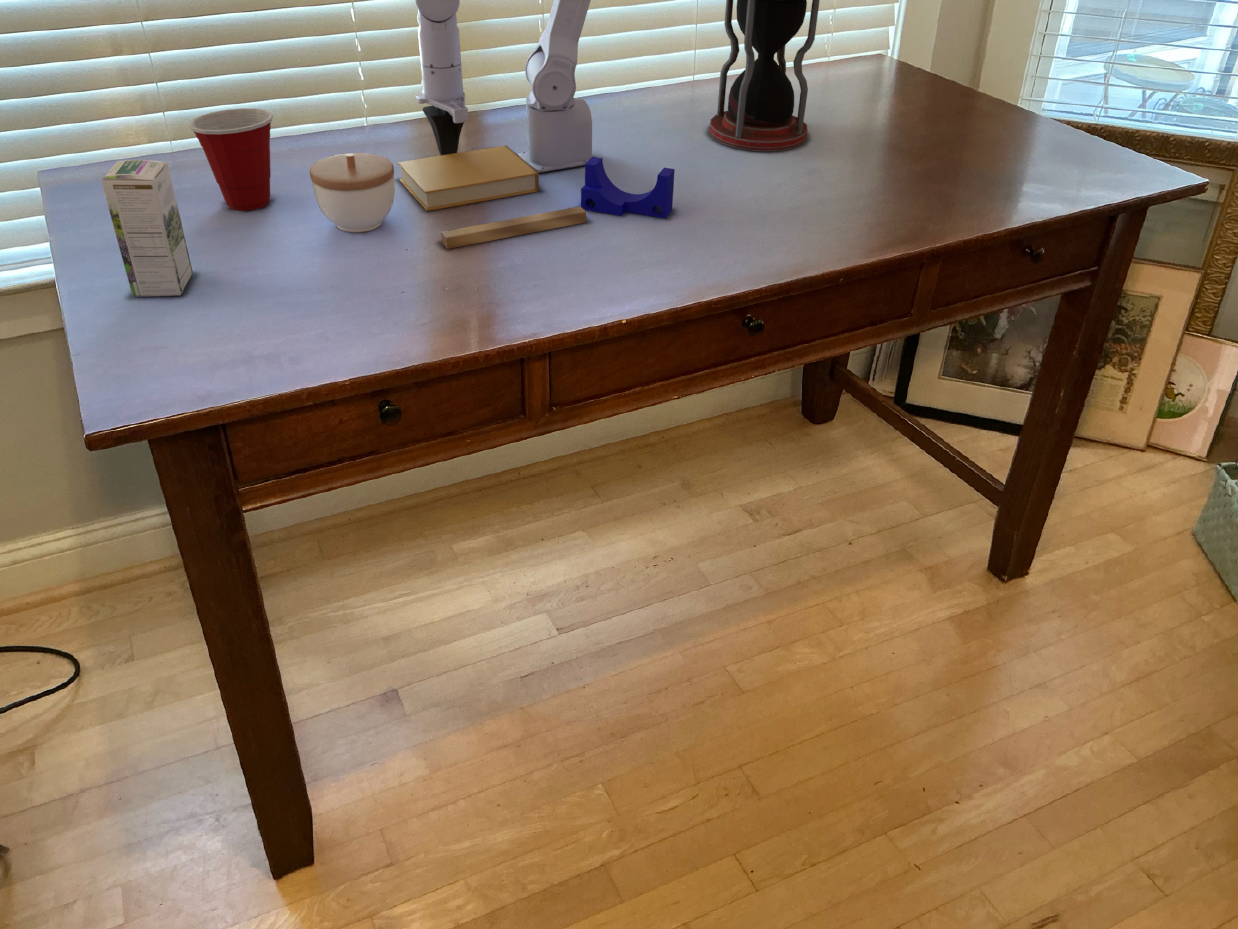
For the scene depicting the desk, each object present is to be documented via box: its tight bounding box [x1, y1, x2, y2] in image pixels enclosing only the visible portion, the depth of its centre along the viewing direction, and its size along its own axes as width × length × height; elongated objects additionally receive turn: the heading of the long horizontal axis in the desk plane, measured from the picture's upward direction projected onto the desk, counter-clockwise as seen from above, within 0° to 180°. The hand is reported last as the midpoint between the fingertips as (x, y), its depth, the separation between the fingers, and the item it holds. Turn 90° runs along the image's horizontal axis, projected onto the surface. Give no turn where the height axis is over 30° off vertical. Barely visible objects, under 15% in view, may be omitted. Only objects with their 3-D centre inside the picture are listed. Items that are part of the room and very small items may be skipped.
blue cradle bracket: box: [580, 156, 675, 219], centre depth 142 cm, size 12×4×6 cm, turn 71°
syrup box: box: [100, 159, 194, 297], centre depth 118 cm, size 6×6×14 cm
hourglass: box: [709, 0, 820, 152], centre depth 162 cm, size 16×16×25 cm
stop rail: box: [441, 205, 587, 250], centre depth 137 cm, size 20×2×2 cm, turn 118°
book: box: [397, 145, 540, 212], centre depth 149 cm, size 17×12×3 cm
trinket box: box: [309, 152, 396, 233], centre depth 135 cm, size 11×11×9 cm
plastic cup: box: [187, 107, 274, 212], centre depth 139 cm, size 11×11×12 cm
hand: (448, 155), depth 154 cm, fingers closed
